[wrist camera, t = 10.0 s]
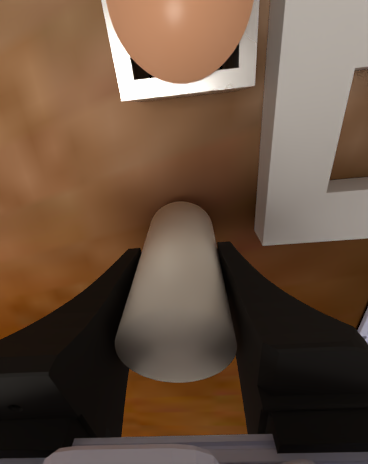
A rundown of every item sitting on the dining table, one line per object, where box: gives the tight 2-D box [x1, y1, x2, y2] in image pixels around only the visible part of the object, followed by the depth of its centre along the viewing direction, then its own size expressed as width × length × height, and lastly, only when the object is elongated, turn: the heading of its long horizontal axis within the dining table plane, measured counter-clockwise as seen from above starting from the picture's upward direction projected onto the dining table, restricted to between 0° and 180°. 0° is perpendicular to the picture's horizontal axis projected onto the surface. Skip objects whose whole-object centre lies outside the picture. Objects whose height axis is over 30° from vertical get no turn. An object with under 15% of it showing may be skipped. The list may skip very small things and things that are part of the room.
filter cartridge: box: [115, 201, 237, 382], centre depth 11 cm, size 4×4×8 cm
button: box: [106, 0, 254, 84], centre depth 8 cm, size 4×4×4 cm
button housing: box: [101, 0, 259, 102], centre depth 9 cm, size 5×5×4 cm
